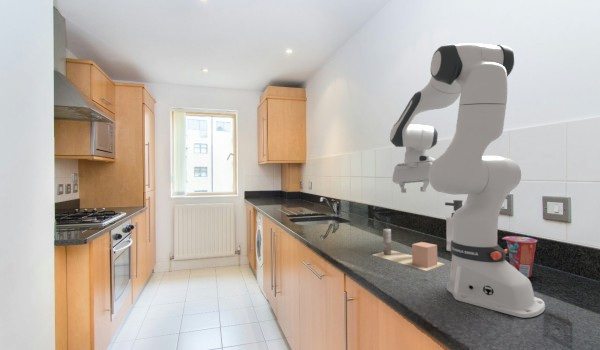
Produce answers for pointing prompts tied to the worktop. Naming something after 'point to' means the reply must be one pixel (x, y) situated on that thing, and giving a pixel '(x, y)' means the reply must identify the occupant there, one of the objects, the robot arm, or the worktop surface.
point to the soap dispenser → (457, 205)
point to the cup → (521, 253)
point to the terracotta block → (424, 254)
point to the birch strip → (398, 253)
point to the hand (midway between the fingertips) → (412, 192)
